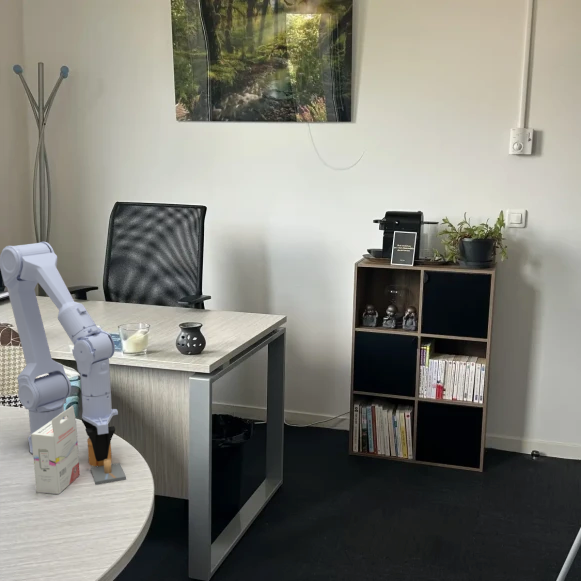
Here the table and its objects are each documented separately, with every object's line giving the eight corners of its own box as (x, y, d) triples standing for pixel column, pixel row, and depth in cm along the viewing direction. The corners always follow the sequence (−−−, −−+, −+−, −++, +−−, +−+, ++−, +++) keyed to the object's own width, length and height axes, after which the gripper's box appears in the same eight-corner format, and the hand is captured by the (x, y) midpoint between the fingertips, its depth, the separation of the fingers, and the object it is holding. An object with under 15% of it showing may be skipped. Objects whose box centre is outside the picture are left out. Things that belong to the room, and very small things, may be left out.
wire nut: (87, 459, 152) (85, 436, 151) (109, 455, 154) (108, 433, 153) (90, 467, 148) (88, 444, 147) (113, 464, 150) (112, 441, 149)
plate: (90, 470, 147) (89, 455, 146) (119, 465, 149) (119, 451, 149) (95, 484, 141) (94, 469, 140) (126, 479, 143) (125, 464, 142)
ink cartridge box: (57, 473, 146) (52, 402, 143) (80, 475, 145) (76, 404, 142) (34, 492, 137) (28, 418, 135) (58, 495, 136) (53, 420, 134)
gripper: (122, 400, 143) (125, 465, 146) (110, 379, 156) (113, 439, 159) (85, 405, 141) (89, 471, 143) (76, 383, 154) (80, 445, 156)
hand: (99, 455), depth 151 cm, fingers closed on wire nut, 4 cm apart
